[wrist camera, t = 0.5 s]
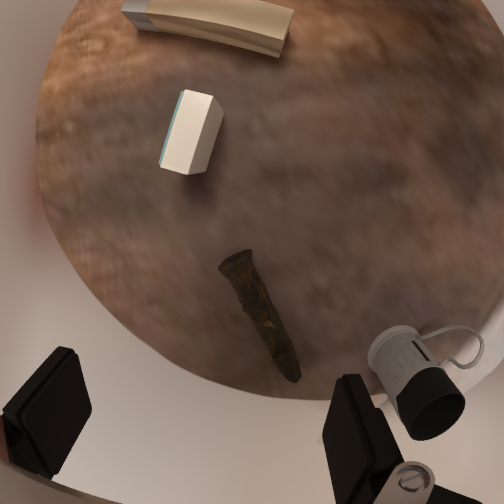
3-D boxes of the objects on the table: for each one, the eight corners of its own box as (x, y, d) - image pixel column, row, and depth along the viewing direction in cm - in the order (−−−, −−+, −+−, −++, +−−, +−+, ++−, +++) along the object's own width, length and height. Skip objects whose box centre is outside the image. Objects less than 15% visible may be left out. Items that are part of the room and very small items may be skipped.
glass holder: (355, 363, 42) (387, 437, 28) (416, 282, 39) (477, 335, 25) (395, 382, 44) (431, 449, 29) (452, 309, 40) (510, 361, 26)
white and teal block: (201, 107, 34) (181, 88, 24) (224, 113, 34) (213, 96, 24) (182, 165, 36) (157, 166, 26) (205, 171, 36) (187, 174, 26)
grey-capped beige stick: (149, 3, 30) (134, -18, 24) (288, 30, 31) (294, 9, 25) (137, 29, 31) (120, 11, 25) (278, 58, 32) (283, 40, 26)
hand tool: (219, 257, 39) (214, 270, 34) (250, 244, 38) (249, 256, 34) (277, 375, 43) (279, 396, 39) (304, 365, 43) (308, 386, 38)
